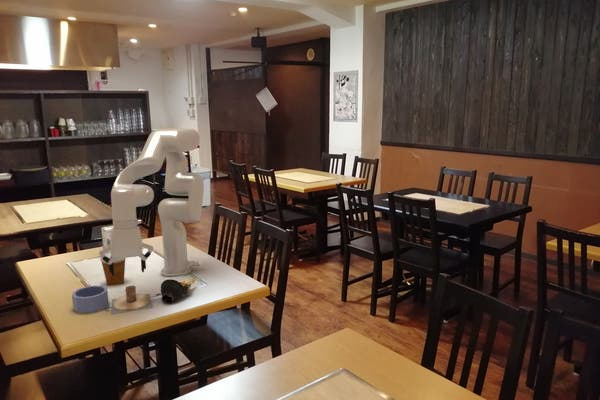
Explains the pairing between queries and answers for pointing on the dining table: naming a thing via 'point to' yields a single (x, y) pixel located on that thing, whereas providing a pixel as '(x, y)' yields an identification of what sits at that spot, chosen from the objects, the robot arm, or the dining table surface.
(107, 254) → the disposable coffee cup
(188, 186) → the robot arm
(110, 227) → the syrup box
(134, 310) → the mat
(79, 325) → the dining table surface
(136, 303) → the lid
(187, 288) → the black dish with food
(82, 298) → the bowl
